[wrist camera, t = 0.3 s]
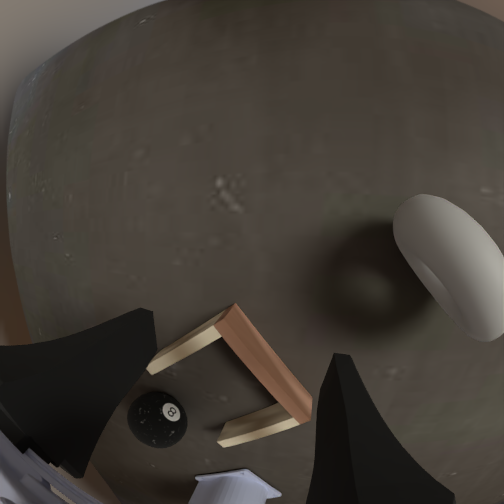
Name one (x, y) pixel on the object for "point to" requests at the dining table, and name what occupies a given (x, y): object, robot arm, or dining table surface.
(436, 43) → the dining table surface
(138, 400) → the billiard ball
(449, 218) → the donut
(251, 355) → the wooden u-shaped frame
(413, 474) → the robot arm
